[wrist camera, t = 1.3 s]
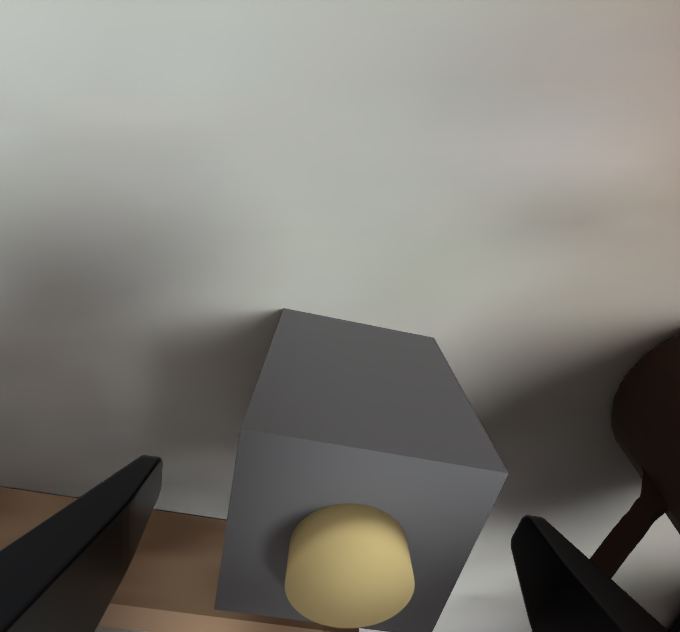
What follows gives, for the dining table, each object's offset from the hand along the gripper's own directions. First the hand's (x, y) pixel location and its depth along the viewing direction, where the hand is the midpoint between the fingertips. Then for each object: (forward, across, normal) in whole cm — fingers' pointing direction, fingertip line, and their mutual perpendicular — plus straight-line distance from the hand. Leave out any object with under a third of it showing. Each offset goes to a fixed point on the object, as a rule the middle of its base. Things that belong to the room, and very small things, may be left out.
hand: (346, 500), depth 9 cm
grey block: (+5, 0, 0) cm, 5 cm away
